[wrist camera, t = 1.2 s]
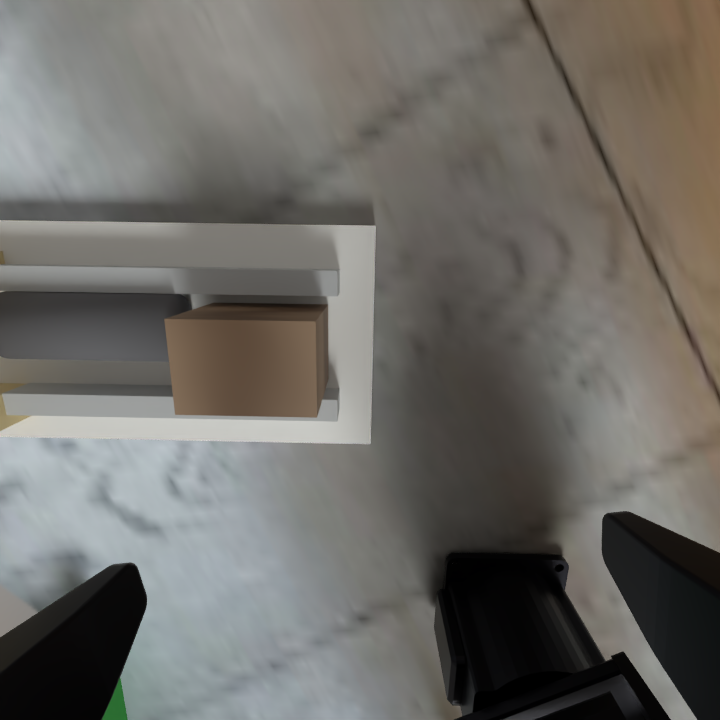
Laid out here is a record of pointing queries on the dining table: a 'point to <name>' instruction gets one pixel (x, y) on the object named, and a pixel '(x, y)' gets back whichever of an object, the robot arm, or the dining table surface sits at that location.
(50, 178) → the dining table surface
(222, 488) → the dining table surface
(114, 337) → the rod
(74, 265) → the channel board
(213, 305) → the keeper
